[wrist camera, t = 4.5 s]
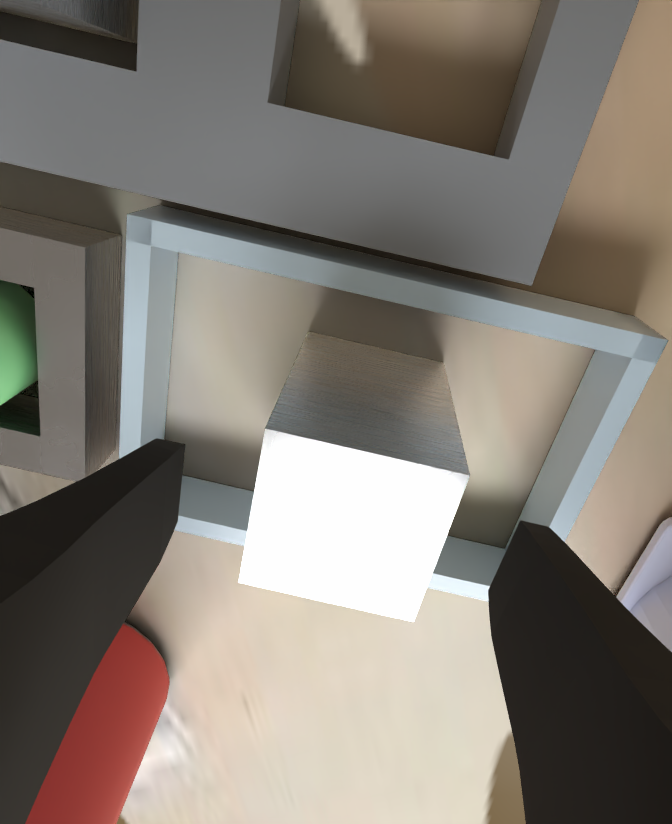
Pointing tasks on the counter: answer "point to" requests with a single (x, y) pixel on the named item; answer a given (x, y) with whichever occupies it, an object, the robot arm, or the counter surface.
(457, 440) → the billet
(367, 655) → the counter surface
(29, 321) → the button
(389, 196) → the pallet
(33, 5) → the block
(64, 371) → the button housing
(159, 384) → the light blue rectangular frame
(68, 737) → the beer can
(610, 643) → the robot arm
